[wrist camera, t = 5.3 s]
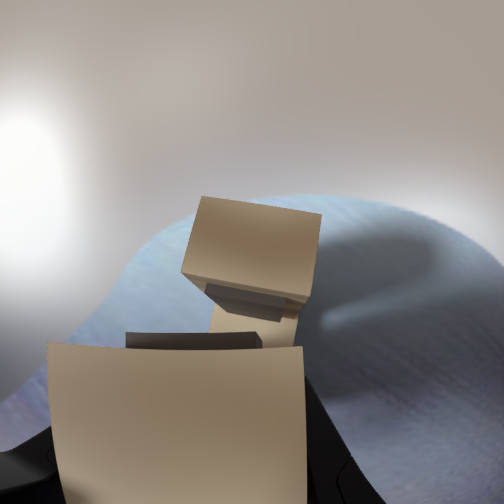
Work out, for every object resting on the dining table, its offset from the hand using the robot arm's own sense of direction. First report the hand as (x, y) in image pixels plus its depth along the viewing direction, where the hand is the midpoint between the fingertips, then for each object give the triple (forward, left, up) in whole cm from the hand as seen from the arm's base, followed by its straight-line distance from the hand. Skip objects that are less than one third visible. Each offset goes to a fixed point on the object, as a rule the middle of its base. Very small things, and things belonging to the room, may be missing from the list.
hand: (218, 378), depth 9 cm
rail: (-2, 0, -10) cm, 10 cm away
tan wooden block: (-1, 0, -7) cm, 7 cm away
